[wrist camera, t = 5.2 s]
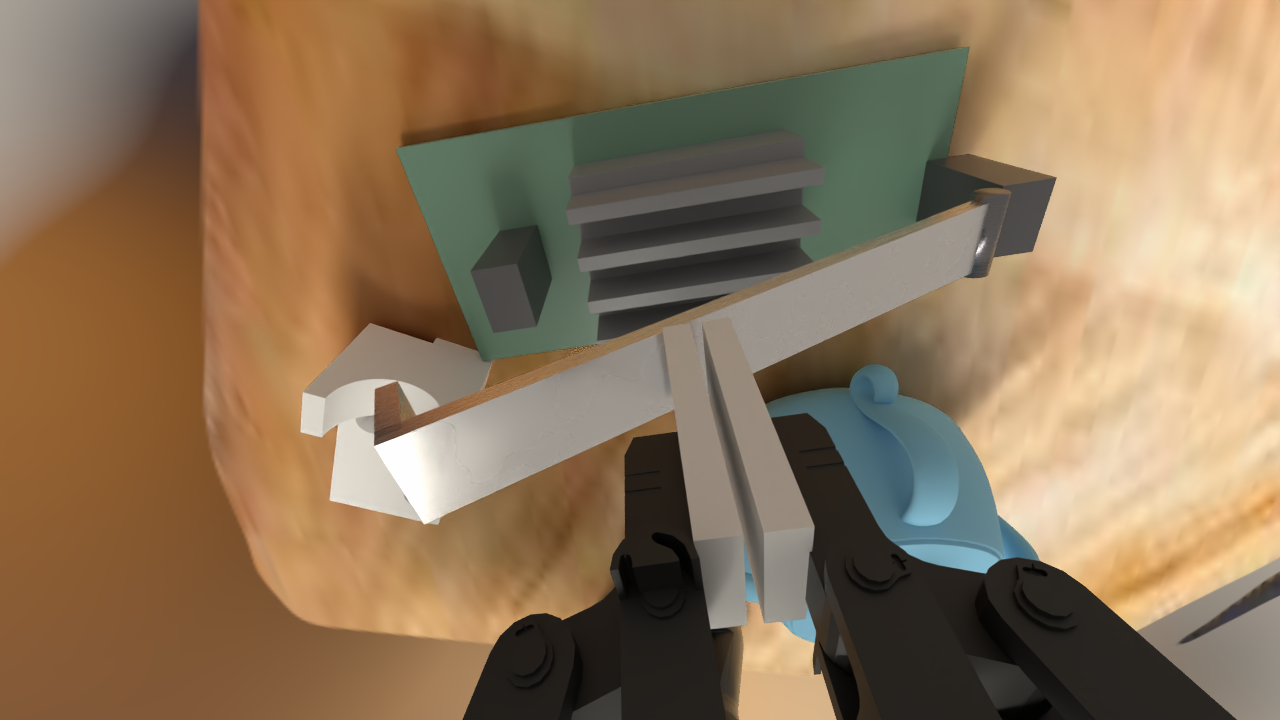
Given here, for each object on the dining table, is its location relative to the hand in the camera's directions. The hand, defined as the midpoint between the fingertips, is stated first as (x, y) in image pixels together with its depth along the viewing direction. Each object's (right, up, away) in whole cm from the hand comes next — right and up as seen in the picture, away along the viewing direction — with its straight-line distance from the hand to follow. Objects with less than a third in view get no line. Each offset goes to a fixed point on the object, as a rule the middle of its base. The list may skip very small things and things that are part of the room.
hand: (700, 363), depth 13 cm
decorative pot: (+11, -6, +21) cm, 25 cm away
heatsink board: (+1, +7, +12) cm, 14 cm away
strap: (+1, +2, +4) cm, 5 cm away
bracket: (-17, -3, +18) cm, 25 cm away
